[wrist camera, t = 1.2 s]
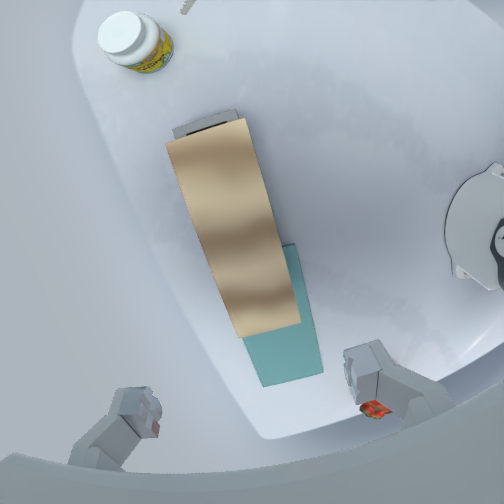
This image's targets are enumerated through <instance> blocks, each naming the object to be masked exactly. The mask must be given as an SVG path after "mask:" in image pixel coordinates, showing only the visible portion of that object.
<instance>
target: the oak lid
mask: <svg viewBox="0 0 504 504" xmlns="http://www.w3.org/2000/svg"><path fill="white" fill-rule="evenodd" d="M165 145H166V148H167V151H168V154H169V157H170V160H171V163H172V166H173V169H174V172H175V174H176V177H177V180H178V183H179V186H180V189H181V191H182V194H183V197H184V200H185V203H186V205H187V208H188V211H189V214H190V216H191V219H192V222H193V224H194V227H195V230H196V232H197V235H198V238H199V240H200V243H201V246H202V248H203V251H204V253H205V256H206V259H207V261H208V264H209V266H210V269H211V272H212V274H213V277H214V279H215V282H216V284H217V287H218V289H219V292H220V294H221V297H222V299H223V302H224V304H225V307H226V309H227V311H228V314H229V316H230V319H231V321H232V324H233V326H234V328H235V331H236V333H237V336H238V338H243V337H247V336H251V335H255V334H259V333H264V332H268V331H272V330H275V329H279V328H283V327H287V326H291V325H294V324H298V323H301V319H300V315H299V311H298V307H297V303H296V299H295V295H294V291H293V287H292V283H291V279H290V276H289V272H288V268H287V264H286V260H285V257H284V253H283V249H282V245H281V242H280V238H279V234H278V231H277V227H276V223H275V220H274V216H273V213H272V209H271V205H270V202H269V198H268V195H267V191H266V188H265V184H264V181H263V177H262V174H261V170H260V167H259V163H258V160H257V157H256V153H255V150H254V146H253V143H252V140H251V136H250V133H249V130H248V126H247V123H246V120H245V118H242V119H239V120H235V121H232V122H228V123H225V124H222V125H219V126H215V127H212V128H209V129H206V130H203V131H200V132H197V133H194V134H191V135H188V136H185V137H182V138H180V139H177V140H174V141H171V142H169V143H166V144H165Z"/></svg>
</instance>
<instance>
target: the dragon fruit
mask: <svg viewBox="0 0 504 504" xmlns="http://www.w3.org/2000/svg"><path fill="white" fill-rule="evenodd" d="M360 411H361V412H362V413H364V414H365V415H366V416H368V417H373V418H374V419H378V418H379V419H381V418H382V417H383V416H384V414H387V413H392V411H390V410H389V409H388V408H386V407H385V406H383V405H382V404H380V403H379V402H378V401H376V400H373V401H369V402H366V403H363V404H362V405H361V406H360Z"/></svg>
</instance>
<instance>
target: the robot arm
mask: <svg viewBox="0 0 504 504" xmlns="http://www.w3.org/2000/svg"><path fill="white" fill-rule="evenodd" d="M445 239H446V245H447V248H448V251H449V253H450V255H451V258H452V272H453V275H454V276H455V277H456V278H458V279H474V280H475V281H477V282H478V283H479V284H480V285H482V286H483V287H484V288H486V289H487V290H489V291H491V290H498V289H503V290H504V167H503V166H502V165H501V164H499V163H497V162H495V163H493V164H492V165H491V166H490V167H489V168H488V169H487V170H486V171H485V172H484V173H481V174H478V175H476V176H474V177H472V178H470V179H469V180H468V181H466V182H465V183H464V184H463V185H462V187H461V188H460V189H459V191H458V192H457V194H456V195H455V197H454V199H453V201H452V203H451V206H450V209H449V212H448V215H447V220H446V227H445ZM343 357H344V359H345V363H344V371H345V376H346V380H347V383H348V385H349V386H351V392H352V396H353V398H354V401H355V404H356V405H359V404H362V403H366V402H369V401H373V400H376V401H378V402H379V403H380V404H382V405H383V406H385V407H386V408H388V409H389V410H390V411H392V412H393V413H395V414H396V415H398V416H399V417H401V418H402V419H404V422H403V425H402V428H401V431H400V432H397V433H394V434H391V435H389V436H386V437H383V438H380V439H377V440H374V441H372V442H368V443H365V444H363V445H359V446H356V447H352V448H349V449H345V450H342V451H338V452H335V453H331V454H327V455H323V456H318V457H314V458H310V459H305V460H301V461H295V462H290V463H285V464H279V465H273V466H267V467H260V468H254V469H246V470H236V471H225V472H212V473H192V474H150V473H131V472H126V471H125V470H123V469H122V468H121V466H122V464H123V463H124V462H125V460H126V459H127V458H128V456H129V455H130V454H131V452H132V451H133V450H134V448H135V447H136V446H137V444H138V443H139V442H140V440H141V438H158V434H159V428H160V425H159V424H158V421H159V420H160V418H161V416H162V407H161V404H160V401H159V400H158V398H156V397H154V396H153V395H152V394H153V391H152V390H151V388H150V387H147V386H146V387H128V388H118V389H117V390H116V392H115V395H114V398H113V401H112V404H111V407H110V410H109V413H108V415H105V416H104V417H103V418H102V419H101V420H100V421H99V422H97V423H96V424H95V425H94V426H93V427H92V428H91V429H90V430H89V431H88V432H87V433H86V434H85V435H84V436H83V437H81V438H80V439H79V440H78V441H77V442H76V443H75V444H74V446H73V449H72V451H71V455H70V458H69V461H68V464H61V463H56V462H52V461H47V460H43V459H38V458H34V457H30V456H27V455H23V454H19V453H12V454H10V455H9V456H7V457H6V458H4V459H3V460H2V461H1V462H0V504H504V379H503V380H502V381H500V382H499V383H497V384H495V385H494V386H492V387H490V388H489V389H487V390H485V391H484V392H482V393H480V394H478V395H477V396H475V397H473V398H471V399H469V400H467V401H466V402H464V403H462V404H460V405H458V406H455V404H454V402H453V401H452V399H451V398H450V396H449V394H448V393H447V391H446V389H445V388H444V386H443V385H441V384H439V383H437V382H435V381H432V380H430V379H428V378H426V377H424V376H422V375H419V374H417V373H415V372H413V371H411V370H409V369H407V368H405V367H402V366H400V365H394V363H393V361H392V359H391V358H390V356H389V354H388V353H387V351H386V349H385V347H384V346H383V344H382V342H381V341H380V340H379V339H378V340H375V341H371V342H368V343H365V344H362V345H359V346H355V347H352V348H349V349H345V350H344V352H343Z"/></svg>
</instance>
